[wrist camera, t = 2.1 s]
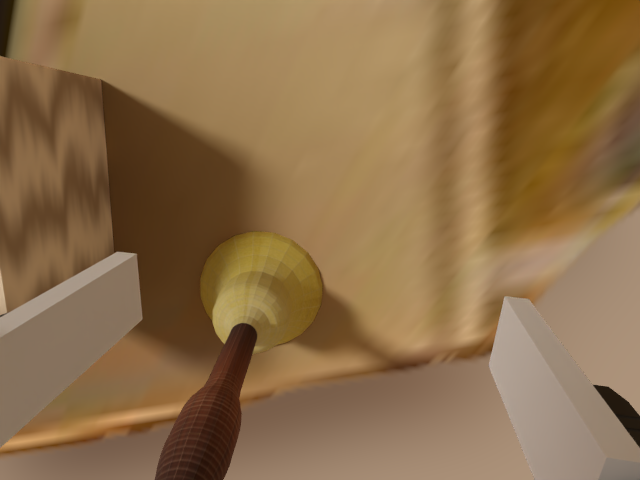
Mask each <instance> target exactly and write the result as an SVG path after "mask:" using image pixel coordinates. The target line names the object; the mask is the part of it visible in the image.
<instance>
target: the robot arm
mask: <svg viewBox="0 0 640 480" xmlns="http://www.w3.org/2000/svg"><path fill="white" fill-rule="evenodd" d="M142 319H143V318H142V307H141V296H140V285H139V273H138V262H137V254H134V253H125V252H116V253H114V254H112V255H111V256H109V257H107V258H105V259H103V260H102V261H100V262H98V263H96V264H95V265H93V266H91V267H89V268H87V269H86V270H84V271H82V272H80V273H79V274H77V275H75V276H73V277H71V278H70V279H68V280H66V281H64V282H62V283H61V284H59V285H57V286H55V287H54V288H52V289H50V290H48V291H46V292H45V293H43V294H41V295H39V296H38V297H36V298H34V299H32V300H30V301H29V302H27V303H25V304H23V305H21V306H20V307H18V308H16V309H14V310H13V311H11V312H8V313H5V314H2V315H0V447H2V446H3V445H4V444H5V443H6V442H7V441H8V440H9V439H10V438H12V437H13V436H14V435H15V434H16V433H17V432H18V431H19V430H20V429H22V428H23V427H24V426H25V425H26V424H27V423H28V422H29V421H30V420H32V419H33V418H34V417H35V416H36V415H37V414H38V413H39V412H40V411H41V410H43V409H44V408H45V407H46V406H47V405H48V404H49V403H50V402H51V401H53V400H54V399H55V398H56V397H57V396H58V395H59V394H60V393H61V392H63V391H64V390H65V389H66V388H67V387H68V386H69V385H70V384H71V383H73V382H74V381H75V380H76V379H77V378H78V377H79V376H80V375H81V374H83V373H84V372H85V371H86V370H87V369H88V368H89V367H90V366H91V365H93V364H94V363H95V362H96V361H97V360H98V359H99V358H100V357H101V356H102V355H104V354H105V353H106V352H107V351H108V350H109V349H110V348H111V347H112V346H114V345H115V344H116V343H117V342H118V341H119V340H120V339H121V338H122V337H124V336H125V335H126V334H127V333H128V332H129V331H130V330H131V329H132V328H134V327H135V326H136V325H137V324H138V323H139V322H140V321H141V320H142ZM489 368H490V371H491V373H492V375H493V378H494V380H495V383H496V386H497V388H498V390H499V393H500V395H501V398H502V400H503V403H504V405H505V407H506V410H507V413H508V415H509V417H510V420H511V423H512V425H513V428H514V430H515V432H516V435H517V438H518V440H519V442H520V445H521V447H522V450H523V452H524V455H525V457H526V460H527V462H528V465H529V467H530V470H531V472H532V475H533V477H534V480H640V416H639V414H638V413H637V412H636V411H635V410H634V408H633V407H632V406H631V405H630V403H629V402H628V401H626V400H625V399H624V398H622V397H621V396H620V395H618V394H617V393H616V392H614V391H613V390H612V389H610V388H609V387H605V386H598V385H592V383H591V382H590V381H589V379H588V378H587V377H586V375H585V374H584V373H583V371H582V370H581V368H580V367H579V366H578V365H577V364H576V362H575V360H574V359H573V358H572V356H571V355H570V354H569V353H568V351H567V350H566V349H565V347H564V346H563V344H562V343H561V342H560V340H559V339H558V338H557V336H556V335H555V334H554V332H553V331H552V330H551V328H550V327H549V326H548V325H547V323H546V322H545V320H544V319H543V318H542V316H541V315H540V314H539V312H538V311H537V310H536V308H535V307H534V305H533V304H532V303H531V301H530V300H529V299H524V298H515V297H506V296H505V297H504V302H503V306H502V310H501V315H500V319H499V323H498V328H497V332H496V336H495V341H494V345H493V349H492V354H491V358H490V362H489Z"/></svg>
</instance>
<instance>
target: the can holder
mask: <svg viewBox="0 0 640 480" xmlns="http://www.w3.org/2000/svg"><path fill="white" fill-rule="evenodd" d="M112 254H114V243H113V230H112V217H111V203H110V190H109V177H108V163H107V150H106V137H105V123H104V110H103V97H102V83H101V79H96V78H92V77H88V76H83V75H79V74H75V73H70V72H66V71H62V70H57V69H53V68H49V67H44V66H40V65H36V64H31V63H27V62H23V61H19V60H14V59H10V58H6V57H1V56H0V315H2V314H5V313H8V312H11V311H13V310H14V309H16V308H18V307H20V306H21V305H23V304H25V303H27V302H29V301H30V300H32V299H34V298H36V297H38V296H39V295H41V294H43V293H45V292H46V291H48V290H50V289H52V288H54V287H55V286H57V285H59V284H61V283H62V282H64V281H66V280H68V279H70V278H71V277H73V276H75V275H77V274H79V273H80V272H82V271H84V270H86V269H87V268H89V267H91V266H93V265H95V264H96V263H98V262H100V261H102V260H103V259H105V258H107V257H109V256H111V255H112Z"/></svg>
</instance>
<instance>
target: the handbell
mask: <svg viewBox="0 0 640 480" xmlns="http://www.w3.org/2000/svg"><path fill="white" fill-rule="evenodd" d="M322 289H323V286H322V282H321V278H320V274H319V270H318V268H317V266H316V265H315V263H314V261H313V260H312V258H311V257H310V255H309V254H308V252H306V251H305V250H304V249H303V248H301V247H300V246H299V245H298V244H297V243H295V242H294V241H293V240H291V239H288V238H286V237H283V236H281V235H278V234H276V233H271V232H258V231H252V232H248V233H244V234H239V235H235V236H233V237H231V238H230V239H228V240H227V241H225V242H223V243H222V244H220V245H218V246H217V248H216V249H215V250H214V251H213V253H212V254H211V255H210V256H209V257H208V259H207V260H206V262H205V265H204V268H203V271H202V274H201V276H200V297H201V300H202V302H203V305H204V308H205V311H206V313H207V315H208V316H209V317H210V319H211V320H212V321H213V326H214V329H215V332H216V334H217V335H218V337H219V338H220V339H221V341H222V342H223V343H224V344H225V345H224V347H223V349H222V351H221V353H220V355H219V357H218V360H217V362H216V364H215V366H214V368H213V370H212V373H211V375H210V377H209V379H208V381H207V382H206V384H205V386H204V387H203V388H201V389H200V390H199V391H198V392H197V393H195V394H194V395H193V396H192V397H191V398H190V399H189V400H188V401H187V403H186V404H185V405H184V407H183V409H182V410H181V412H180V414H179V416H178V418H177V420H176V422H175V424H174V426H173V428H172V430H171V433H170V435H169V437H168V438H167V440H166V442H165V445H164V447H163V450H162V453H161V455H160V459H159V463H158V467H157V472H156V477H155V480H223V479H224V477H225V475H226V473H227V470H228V468H229V465H230V462H231V458H232V455H233V452H234V448H235V445H236V442H237V439H238V434H239V431H240V426H241V408H240V401H239V397H240V391H241V388H242V385H243V382H244V378H245V375H246V372H247V369H248V366H249V363H250V360H251V356H252V354H257V353H261V352H265V351H267V350H269V349H271V348H273V347H274V346H275V345H277V344H282V343H286V342H288V341H290V340H292V339H293V338H295V337H297V336H299V335H301V334H302V333H303V332H304V331H305V330H306V329H307V328H308V327H309V326H310V324H311V323H312V322H313V321H314V320H315V317H316V315H317V313H318V311H319V308H320V306H321V301H322Z"/></svg>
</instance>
